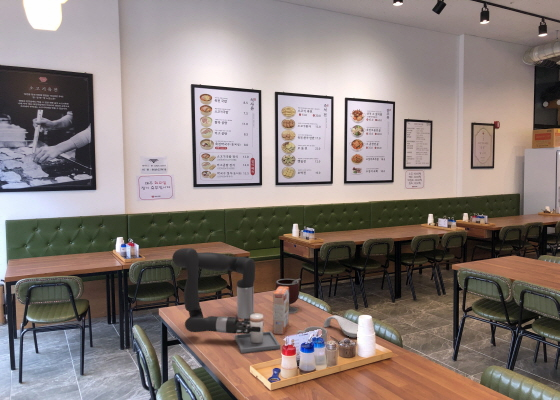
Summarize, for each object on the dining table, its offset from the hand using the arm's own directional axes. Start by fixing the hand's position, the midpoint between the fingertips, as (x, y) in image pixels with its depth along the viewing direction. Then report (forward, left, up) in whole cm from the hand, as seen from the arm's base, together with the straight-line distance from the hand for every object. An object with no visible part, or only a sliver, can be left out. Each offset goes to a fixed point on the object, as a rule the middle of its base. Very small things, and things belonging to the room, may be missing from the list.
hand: (261, 327), depth 207 cm
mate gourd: (-44, +26, -9) cm, 52 cm away
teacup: (+9, +22, -9) cm, 25 cm away
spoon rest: (-4, +43, -9) cm, 44 cm away
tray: (-1, -2, -8) cm, 9 cm away
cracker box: (-16, +14, -9) cm, 23 cm away
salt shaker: (-1, -2, -6) cm, 7 cm away
